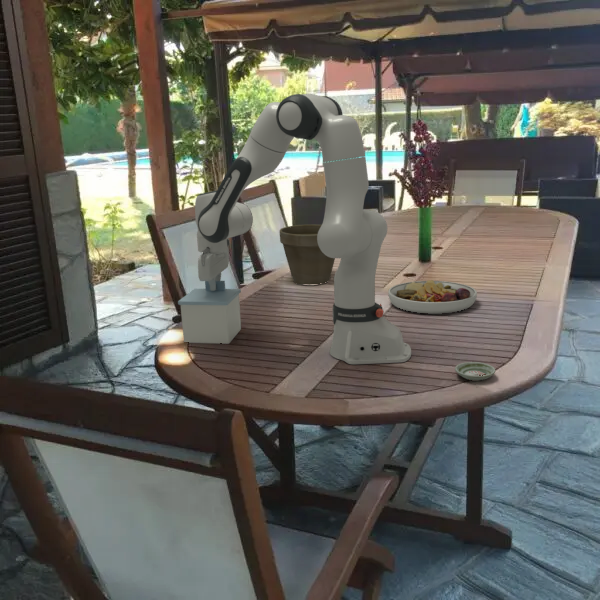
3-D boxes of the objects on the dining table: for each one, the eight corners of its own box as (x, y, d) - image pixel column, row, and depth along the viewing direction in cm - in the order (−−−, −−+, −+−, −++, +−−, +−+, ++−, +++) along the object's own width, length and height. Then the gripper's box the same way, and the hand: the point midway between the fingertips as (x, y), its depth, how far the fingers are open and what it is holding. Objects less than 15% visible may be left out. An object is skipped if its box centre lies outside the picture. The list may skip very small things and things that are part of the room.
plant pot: (355, 281, 258) (354, 228, 252) (306, 292, 244) (304, 236, 238) (316, 271, 278) (315, 222, 272) (269, 281, 263) (267, 229, 258)
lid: (240, 295, 201) (239, 279, 200) (227, 308, 187) (226, 292, 185) (195, 294, 204) (193, 279, 202) (178, 307, 189) (177, 291, 188)
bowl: (371, 307, 223) (370, 285, 221) (418, 289, 244) (418, 269, 242) (447, 322, 203) (448, 298, 201) (492, 302, 224) (493, 280, 222)
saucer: (468, 367, 166) (468, 358, 165) (502, 377, 159) (503, 367, 158) (446, 378, 159) (447, 369, 159) (481, 388, 153) (481, 379, 152)
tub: (241, 329, 203) (238, 292, 200) (228, 343, 190) (226, 304, 187) (198, 328, 206) (195, 292, 203) (183, 342, 193) (180, 304, 189)
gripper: (211, 251, 186) (215, 297, 189) (231, 238, 205) (234, 280, 209) (191, 251, 187) (194, 297, 190) (212, 239, 206) (215, 280, 210)
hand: (215, 288), depth 200 cm, fingers open, 2 cm apart
